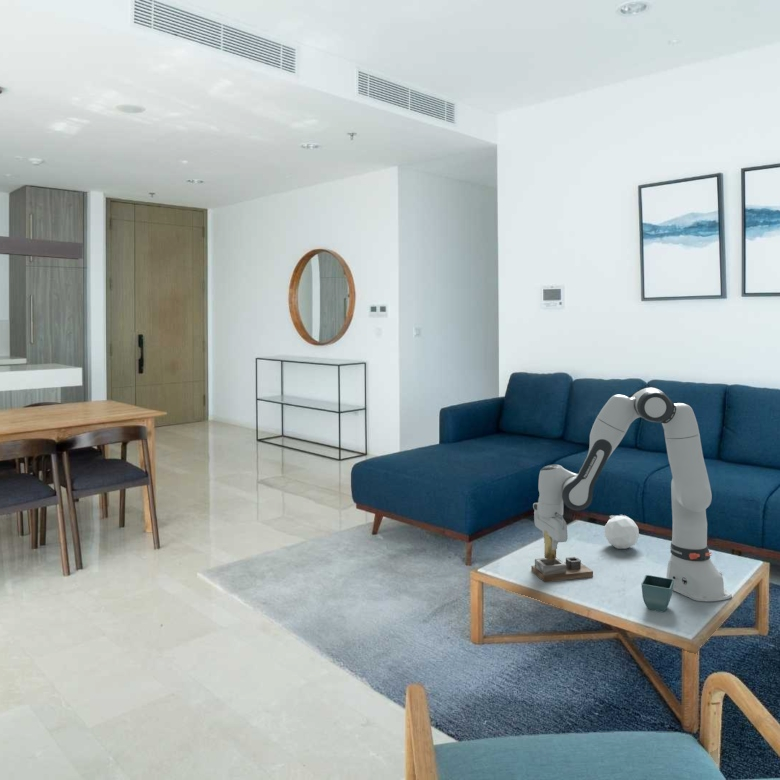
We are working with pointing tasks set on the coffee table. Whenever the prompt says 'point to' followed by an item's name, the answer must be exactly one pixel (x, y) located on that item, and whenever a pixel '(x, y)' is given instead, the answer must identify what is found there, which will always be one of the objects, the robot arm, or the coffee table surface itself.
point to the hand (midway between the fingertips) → (550, 546)
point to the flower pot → (657, 592)
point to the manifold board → (560, 569)
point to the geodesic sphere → (621, 531)
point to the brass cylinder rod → (548, 548)
